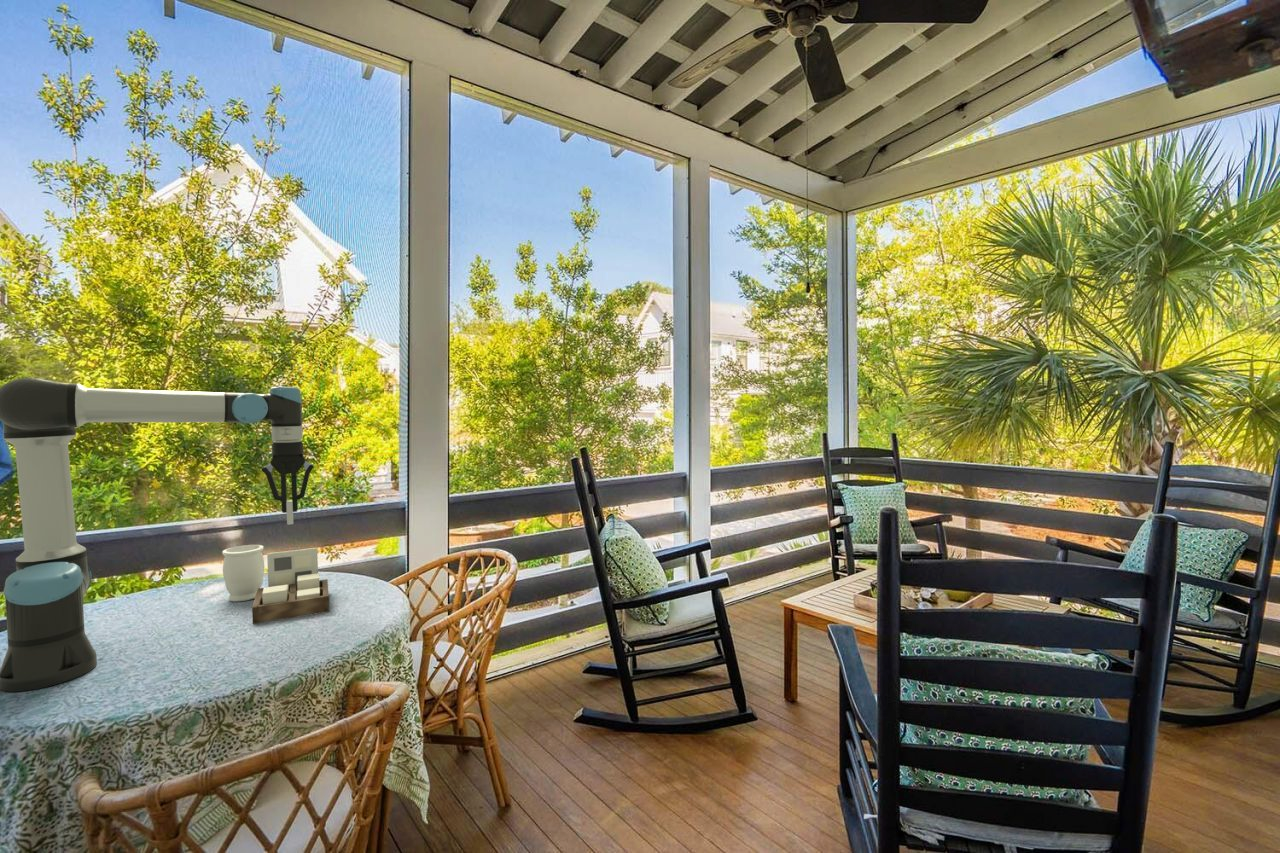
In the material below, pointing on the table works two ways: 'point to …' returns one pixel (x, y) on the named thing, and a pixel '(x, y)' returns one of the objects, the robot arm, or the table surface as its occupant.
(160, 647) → the table surface
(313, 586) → the button far right
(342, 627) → the table surface
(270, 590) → the button near left
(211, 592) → the table surface
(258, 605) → the board
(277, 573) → the card
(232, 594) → the jar
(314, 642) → the table surface
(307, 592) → the button near right
